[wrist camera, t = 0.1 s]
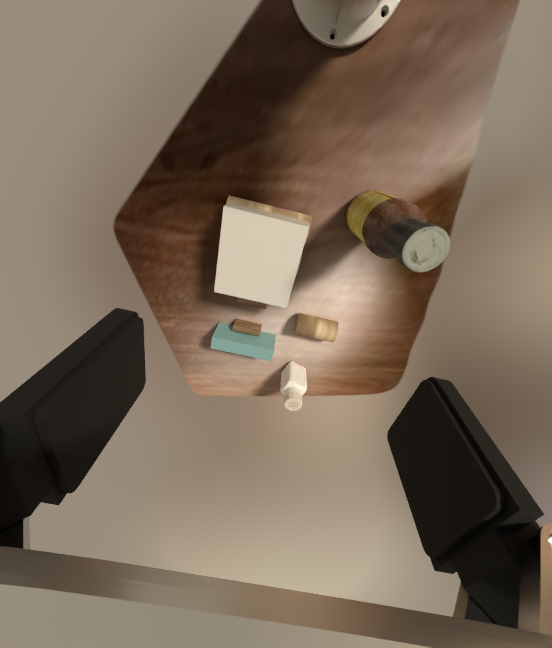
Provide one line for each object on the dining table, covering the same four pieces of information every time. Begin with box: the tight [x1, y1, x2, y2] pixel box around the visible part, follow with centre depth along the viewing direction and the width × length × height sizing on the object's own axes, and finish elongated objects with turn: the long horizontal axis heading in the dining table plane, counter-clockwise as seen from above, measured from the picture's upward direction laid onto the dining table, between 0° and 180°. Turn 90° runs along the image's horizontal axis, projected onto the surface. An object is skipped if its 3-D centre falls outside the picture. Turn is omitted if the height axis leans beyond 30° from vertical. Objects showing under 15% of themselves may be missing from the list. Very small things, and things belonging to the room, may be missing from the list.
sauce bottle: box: [346, 191, 450, 272], centre depth 32 cm, size 7×6×20 cm
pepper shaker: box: [280, 361, 307, 411], centre depth 52 cm, size 4×4×10 cm
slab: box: [214, 202, 309, 308], centre depth 39 cm, size 12×11×4 cm
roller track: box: [226, 196, 312, 336], centre depth 44 cm, size 22×12×4 cm, turn 168°
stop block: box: [211, 322, 276, 361], centre depth 50 cm, size 2×11×5 cm, turn 78°
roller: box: [294, 313, 338, 342], centre depth 49 cm, size 7×4×4 cm, turn 77°
